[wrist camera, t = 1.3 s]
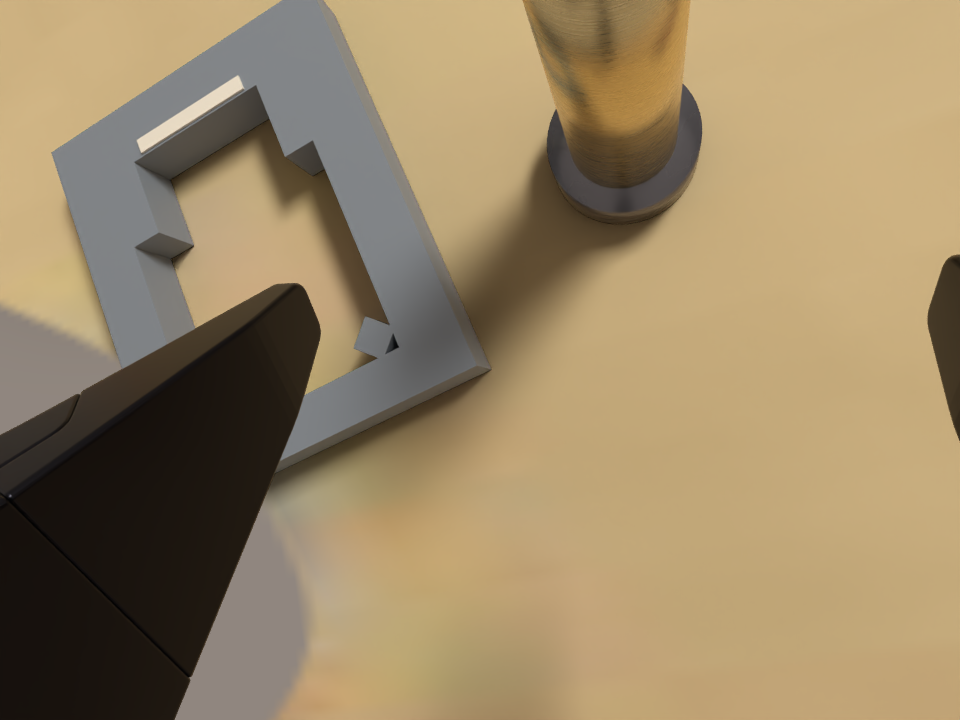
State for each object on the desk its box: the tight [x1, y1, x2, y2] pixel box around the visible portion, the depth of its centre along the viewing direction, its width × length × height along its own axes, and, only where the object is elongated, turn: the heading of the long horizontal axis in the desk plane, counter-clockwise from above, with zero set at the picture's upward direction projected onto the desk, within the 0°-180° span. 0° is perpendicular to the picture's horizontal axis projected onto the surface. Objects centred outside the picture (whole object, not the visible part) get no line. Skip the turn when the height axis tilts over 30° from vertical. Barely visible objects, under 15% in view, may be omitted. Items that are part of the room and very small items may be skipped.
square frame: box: [52, 0, 491, 473], centre depth 25 cm, size 16×13×2 cm
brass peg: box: [523, 0, 702, 224], centre depth 16 cm, size 5×5×13 cm
